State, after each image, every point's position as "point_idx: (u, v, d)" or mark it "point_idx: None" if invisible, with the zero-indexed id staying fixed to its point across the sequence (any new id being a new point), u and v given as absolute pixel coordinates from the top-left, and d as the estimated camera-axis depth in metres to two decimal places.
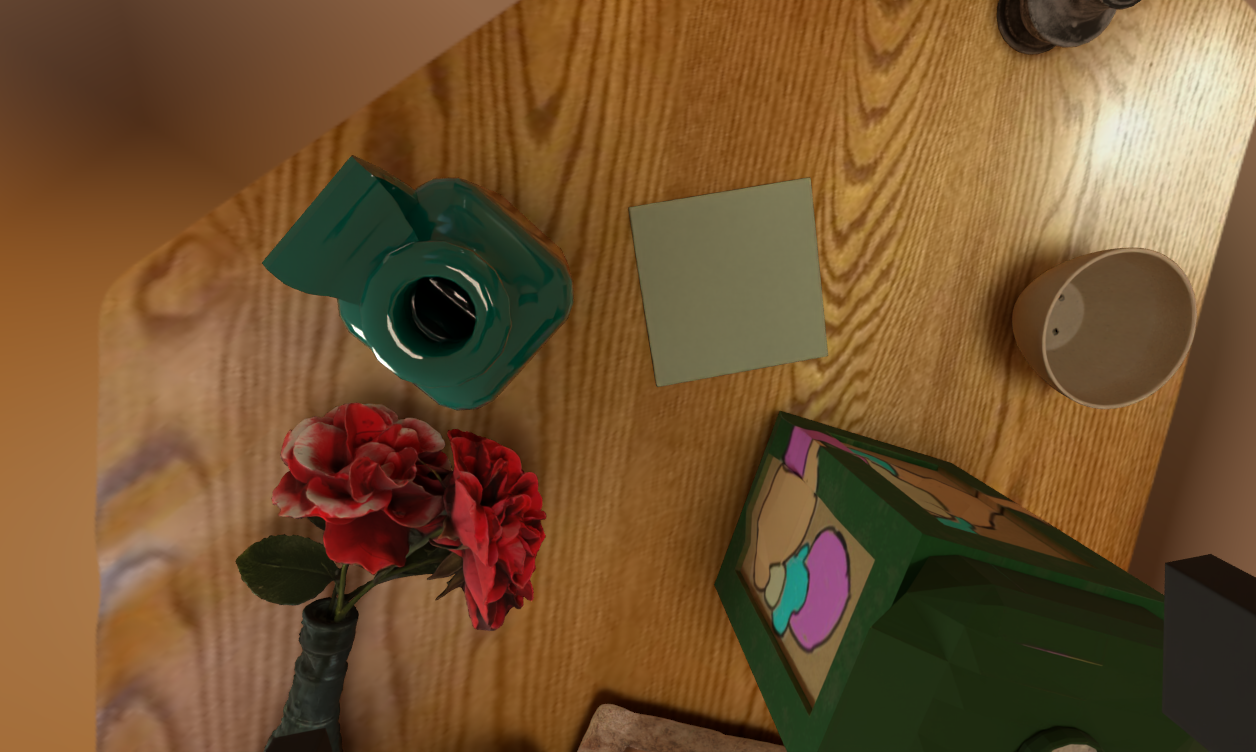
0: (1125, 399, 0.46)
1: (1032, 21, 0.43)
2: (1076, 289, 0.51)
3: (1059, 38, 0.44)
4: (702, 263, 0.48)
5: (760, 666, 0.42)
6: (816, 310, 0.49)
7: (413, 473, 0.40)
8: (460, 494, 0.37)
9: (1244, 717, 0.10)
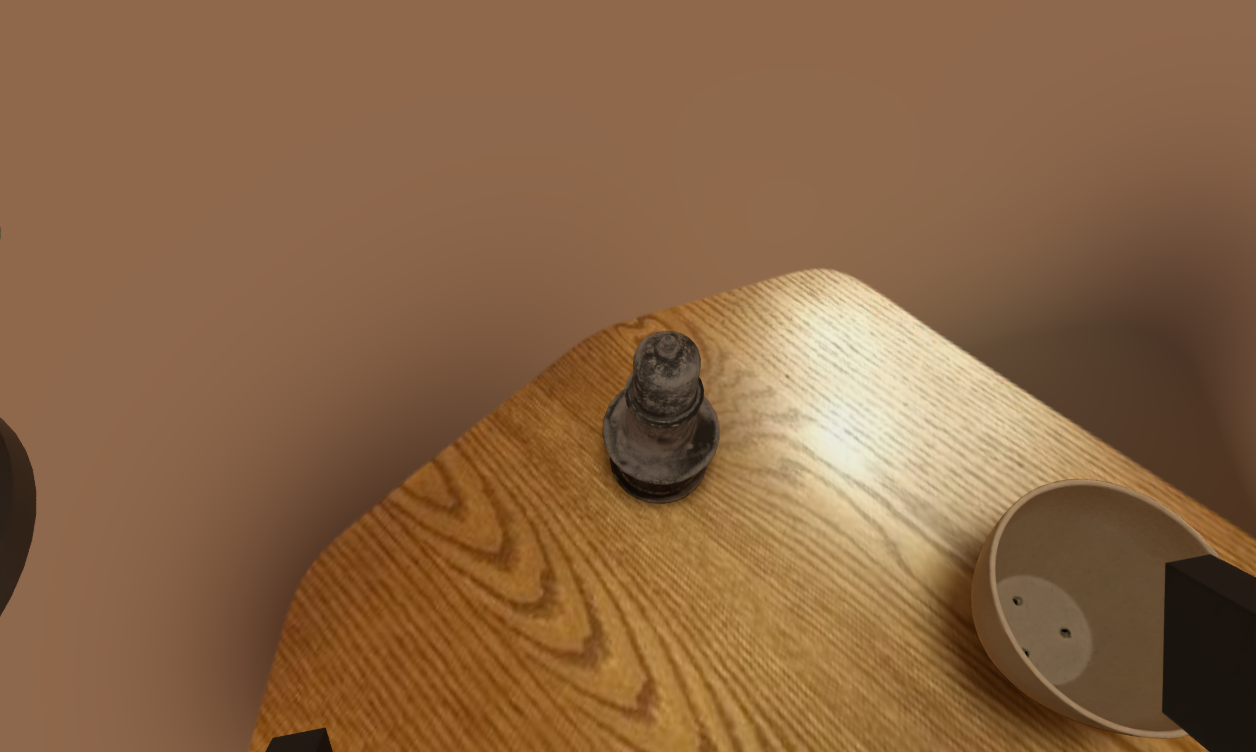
0: None
1: (658, 483, 0.35)
2: (1014, 577, 0.36)
3: (694, 466, 0.35)
4: None
5: None
6: None
7: None
8: None
9: (1244, 717, 0.10)
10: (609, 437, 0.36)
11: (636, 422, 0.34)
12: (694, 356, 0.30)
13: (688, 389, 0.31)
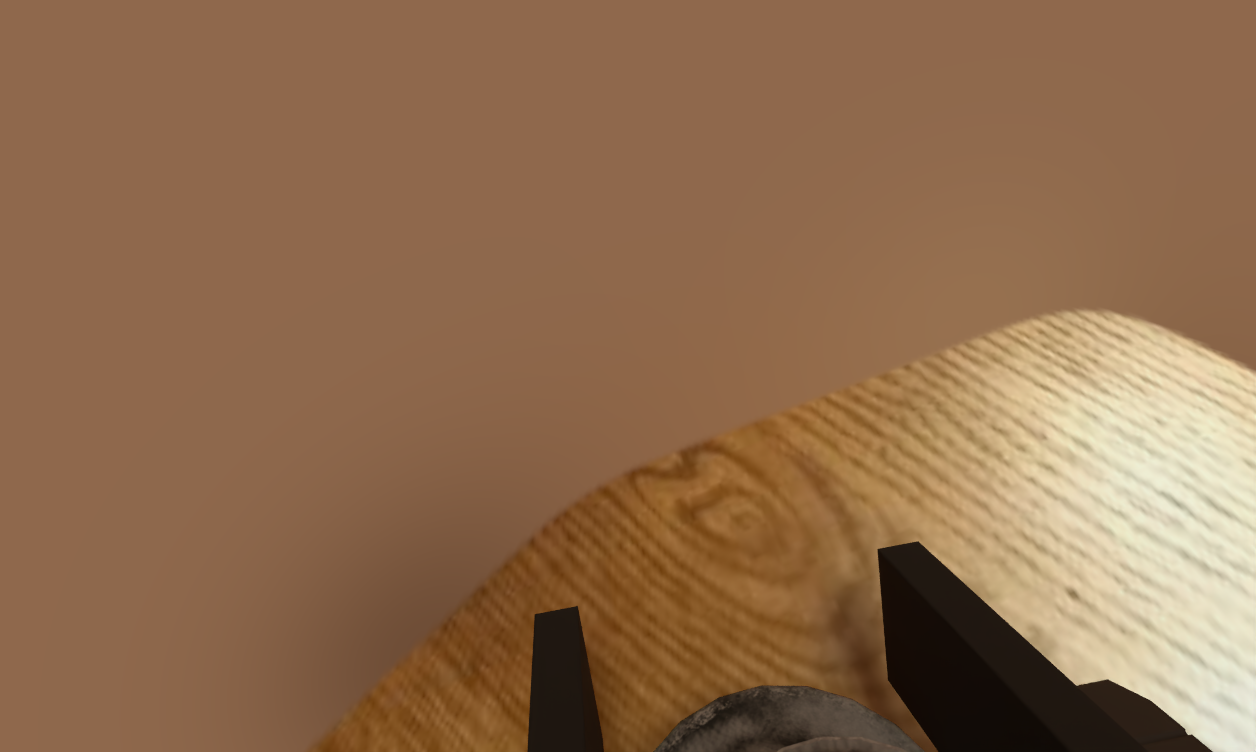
0: None
1: None
2: None
3: None
4: None
5: None
6: None
7: None
8: None
9: (921, 680, 0.12)
10: None
11: None
12: None
13: None
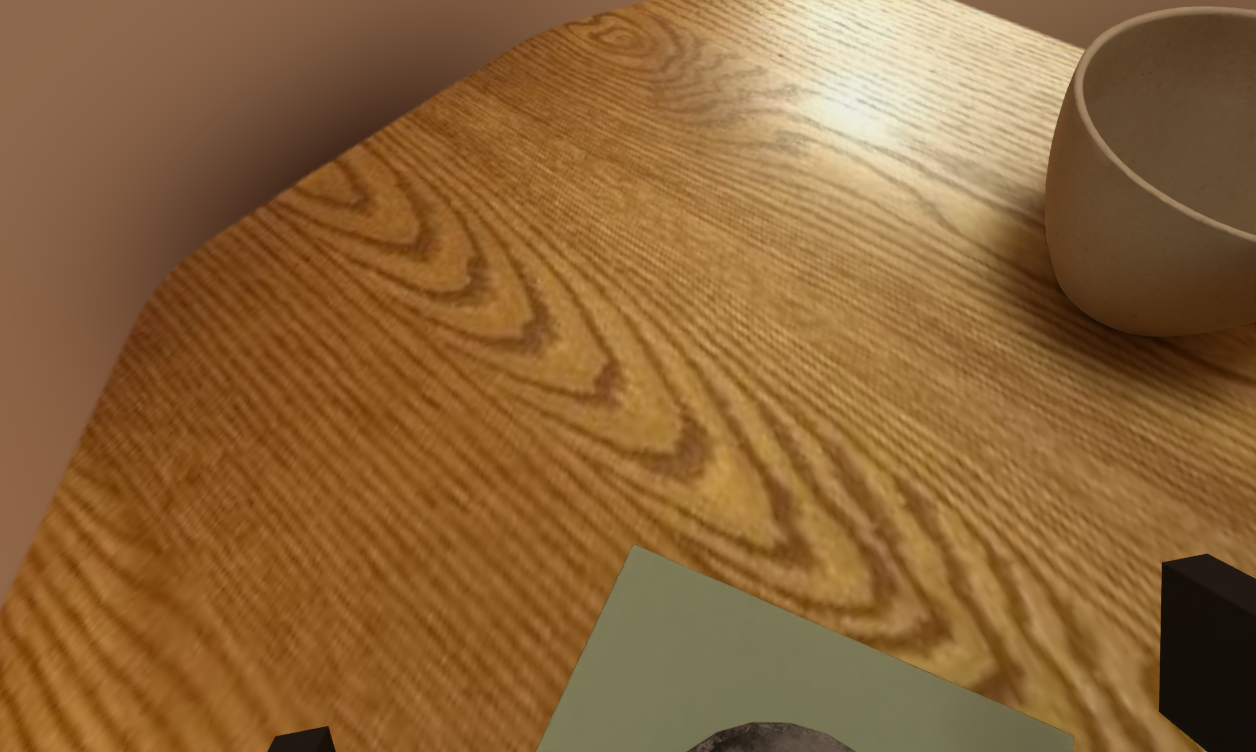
0: None
1: None
2: None
3: None
4: None
5: None
6: (935, 695, 0.19)
7: None
8: None
9: (1240, 716, 0.10)
10: None
11: None
12: None
13: None
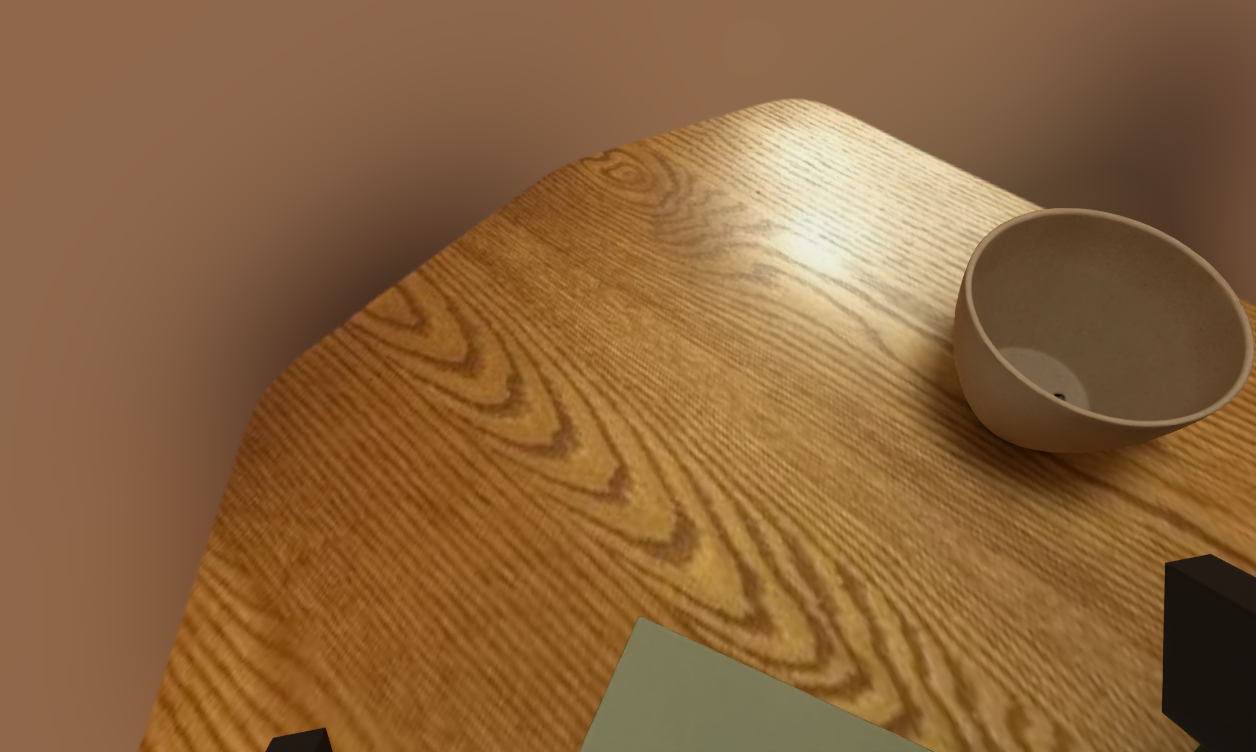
0: (1237, 340, 0.27)
1: None
2: (1002, 349, 0.34)
3: None
4: None
5: None
6: (856, 731, 0.26)
7: None
8: None
9: (1244, 717, 0.10)
10: None
11: None
12: None
13: None
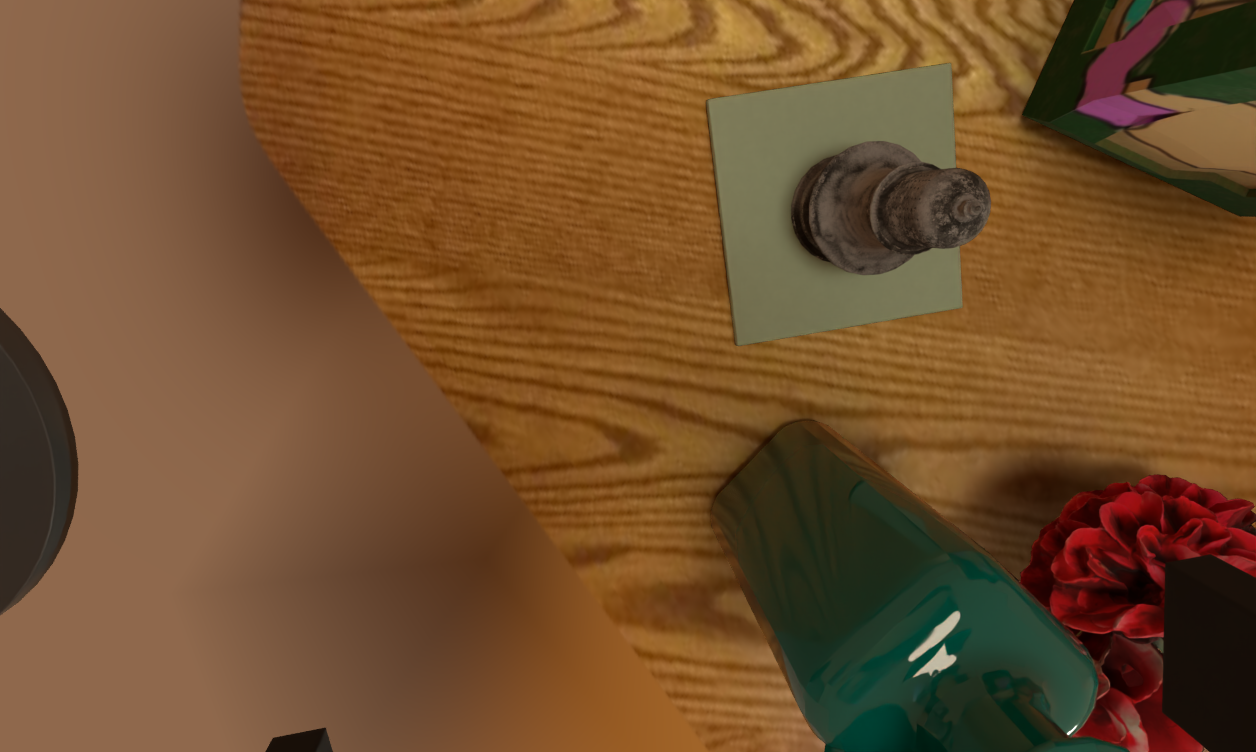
0: None
1: (901, 264, 0.33)
2: None
3: None
4: None
5: None
6: (886, 83, 0.35)
7: None
8: None
9: (1244, 717, 0.10)
10: (833, 253, 0.33)
11: None
12: (987, 193, 0.26)
13: None
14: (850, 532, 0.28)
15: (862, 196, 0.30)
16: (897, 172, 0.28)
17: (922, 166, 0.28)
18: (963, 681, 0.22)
